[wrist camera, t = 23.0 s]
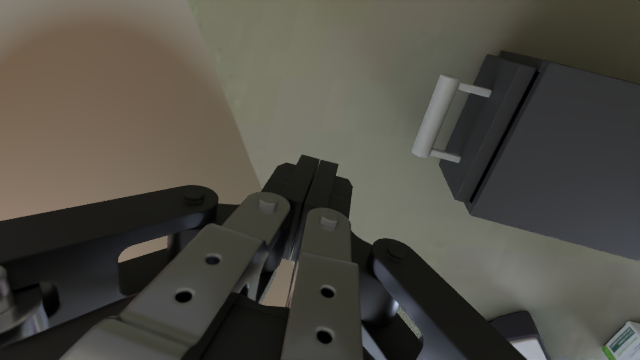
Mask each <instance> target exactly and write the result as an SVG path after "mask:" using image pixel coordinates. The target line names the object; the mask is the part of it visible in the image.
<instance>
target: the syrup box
mask: <svg viewBox="0 0 640 360" xmlns="http://www.w3.org/2000/svg"><path fill="white" fill-rule="evenodd" d="M602 350H603V352H604V353H605V355H606V356H607V357H608V359H609V360H640V323H636V322H632V321H627V322H626V323H625V326H624V327H623V328H622V329H621V330H620V331H619V332H618V333H617V334H616V335H615V336H614V337H613V338H612V339H611V340H610V341H609V342H608V343H607V344H606V345H604V346H603V347H602Z"/></svg>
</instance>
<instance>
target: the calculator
mask: <svg viewBox="0 0 640 360" xmlns="http://www.w3.org/2000/svg"><path fill="white" fill-rule="evenodd" d="M490 324H491V325H492V326H493V327H494V328H495V329H496V330H497V331H498V332H499V333H500V334H501V335H502V336H503V337H504V338H505V339H507V340H508V341H509V342H510V343H511V344H512V345H513V346H514V347H515V348H516V349H517V350H518V351H519V352H520V353H521V354H522V355H523V356H524V357H525V358H526V359H527V360H551V359H550V357H549V355H548V352H547V350H546V348H545V346H544V344H543V341H542V339H541V337H540V335H539V333H538V330H537V328H536V326H535V324H534V322H533V319H532V317H531V315H530V313H529V312H528V311H523V312H518V313H514V314H509V315H504V316H500V317H497V318H496V319H495V320H494V321H493V322H490ZM419 340H420V341H421V343H422V344H424V341H423V337H420V338H419Z"/></svg>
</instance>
